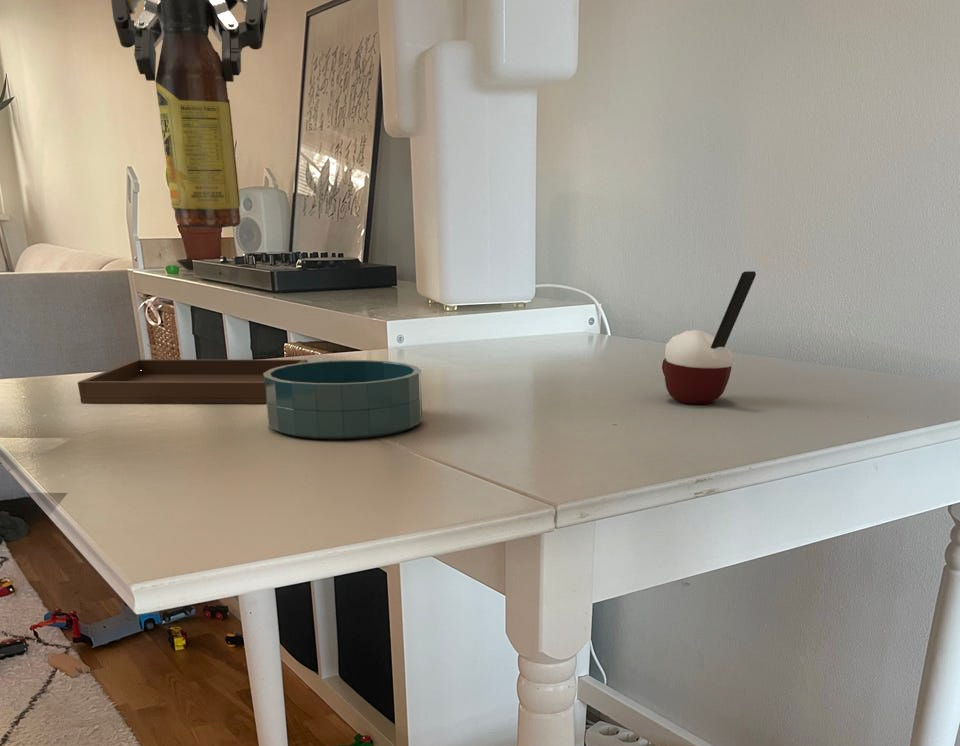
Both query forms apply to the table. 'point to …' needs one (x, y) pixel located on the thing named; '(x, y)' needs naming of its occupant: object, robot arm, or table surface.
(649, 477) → the table surface
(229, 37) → the robot arm
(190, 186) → the sauce bottle
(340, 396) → the bowl
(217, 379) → the tray
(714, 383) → the ice cream cup
